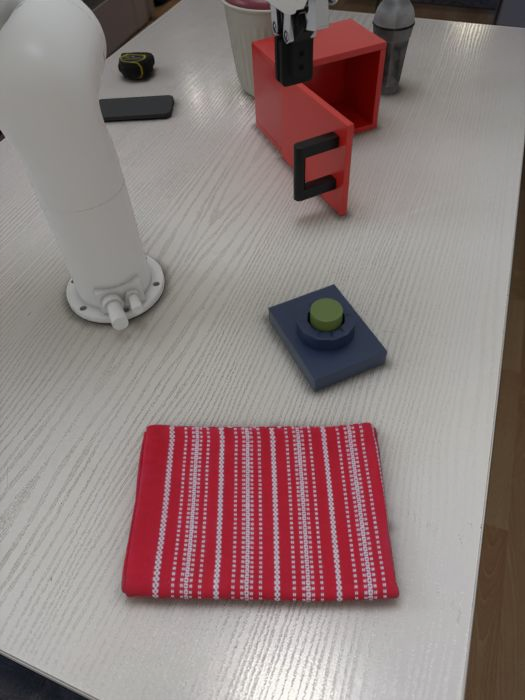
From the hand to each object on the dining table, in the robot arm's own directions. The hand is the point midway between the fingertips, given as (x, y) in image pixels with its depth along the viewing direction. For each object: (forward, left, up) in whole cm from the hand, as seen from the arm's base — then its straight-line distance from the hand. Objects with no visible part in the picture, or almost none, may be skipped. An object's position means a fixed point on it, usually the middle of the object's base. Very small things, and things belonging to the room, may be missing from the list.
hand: (294, 80), depth 52 cm
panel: (-12, +2, -25) cm, 28 cm away
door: (+17, -8, -25) cm, 31 cm away
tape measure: (+69, +2, -25) cm, 74 cm away
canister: (+49, -20, -25) cm, 59 cm away
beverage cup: (+38, -38, -25) cm, 59 cm away
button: (-12, +2, -21) cm, 25 cm away
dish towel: (-28, +17, -25) cm, 41 cm away
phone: (+54, +7, -25) cm, 60 cm away
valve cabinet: (+32, -20, -25) cm, 45 cm away
